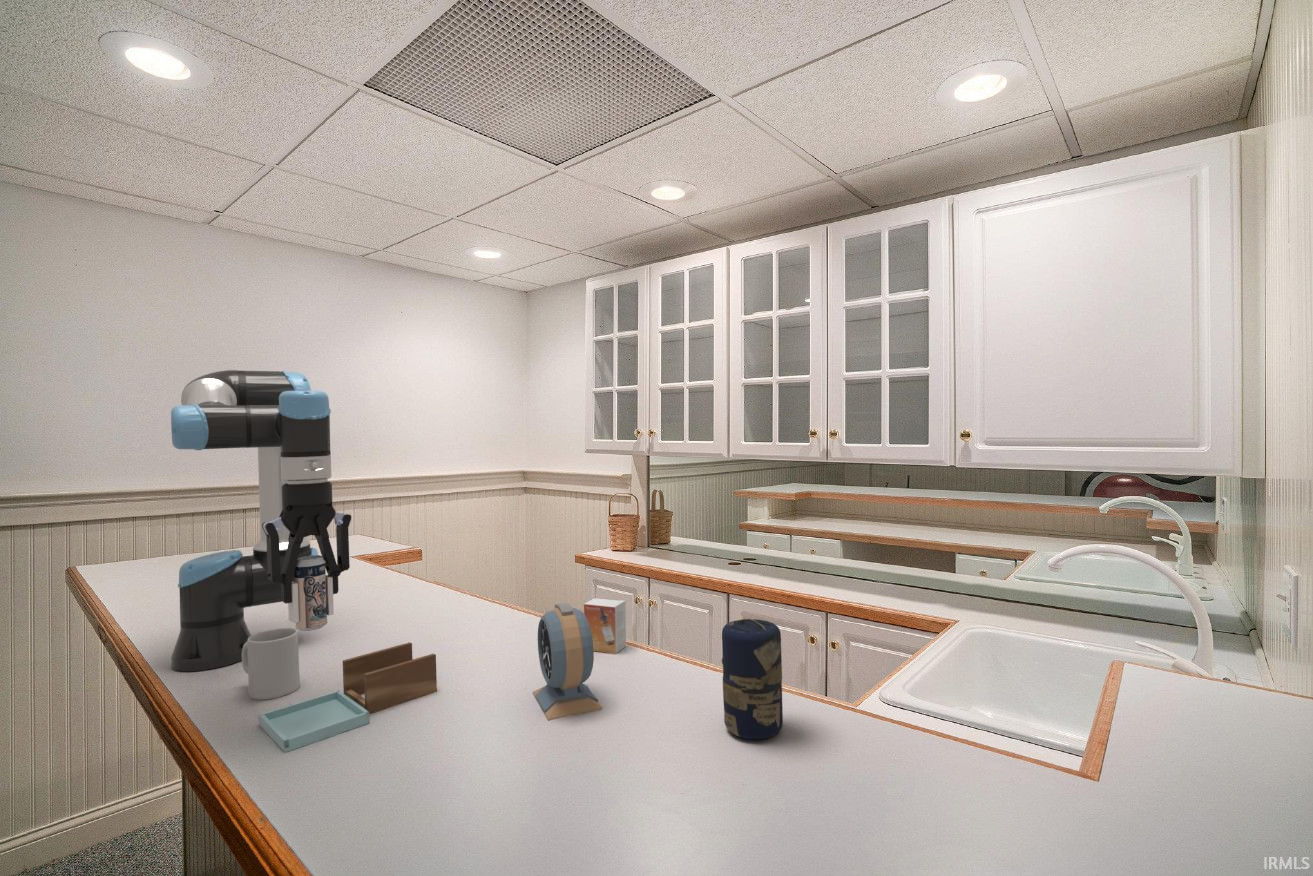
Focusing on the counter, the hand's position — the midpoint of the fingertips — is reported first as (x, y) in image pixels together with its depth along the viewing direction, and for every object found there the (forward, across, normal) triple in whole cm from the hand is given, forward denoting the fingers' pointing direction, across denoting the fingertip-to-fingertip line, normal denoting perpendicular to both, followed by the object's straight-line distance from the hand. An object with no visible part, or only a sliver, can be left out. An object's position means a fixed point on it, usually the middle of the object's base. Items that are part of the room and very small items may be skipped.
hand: (311, 617), depth 107 cm
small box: (+19, +57, -11) cm, 61 cm away
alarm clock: (+19, +34, -26) cm, 47 cm away
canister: (+19, +47, -58) cm, 77 cm away
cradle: (+18, +14, +2) cm, 23 cm away
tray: (+18, 0, 0) cm, 18 cm away
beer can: (+2, 0, 0) cm, 2 cm away
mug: (+19, -1, +23) cm, 30 cm away
